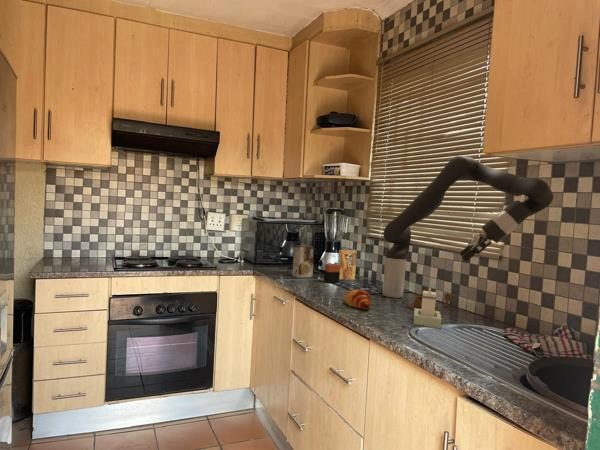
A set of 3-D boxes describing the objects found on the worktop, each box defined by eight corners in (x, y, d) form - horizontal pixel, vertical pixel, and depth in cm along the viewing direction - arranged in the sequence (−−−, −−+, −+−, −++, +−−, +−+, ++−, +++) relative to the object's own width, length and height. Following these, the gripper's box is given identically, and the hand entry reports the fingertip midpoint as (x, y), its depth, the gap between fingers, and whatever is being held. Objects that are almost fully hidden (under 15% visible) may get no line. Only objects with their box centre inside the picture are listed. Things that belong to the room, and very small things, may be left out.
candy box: (351, 278, 241) (354, 250, 240) (354, 279, 237) (357, 251, 236) (336, 278, 238) (338, 249, 237) (339, 279, 234) (341, 250, 233)
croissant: (341, 307, 188) (334, 290, 186) (361, 296, 190) (354, 279, 188) (360, 319, 167) (352, 301, 166) (383, 307, 169) (375, 289, 168)
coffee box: (306, 275, 240) (308, 245, 239) (312, 277, 235) (315, 246, 234) (291, 275, 235) (294, 245, 234) (297, 277, 230) (300, 246, 229)
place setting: (402, 304, 189) (403, 290, 188) (448, 307, 190) (449, 293, 189) (415, 315, 171) (416, 300, 171) (465, 318, 172) (467, 303, 172)
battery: (339, 283, 223) (341, 263, 223) (327, 283, 221) (328, 263, 220) (335, 281, 227) (336, 262, 227) (323, 281, 225) (325, 261, 224)
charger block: (420, 317, 163) (423, 286, 162) (433, 319, 161) (436, 287, 161) (420, 320, 158) (423, 288, 158) (433, 322, 157) (436, 290, 156)
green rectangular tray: (413, 316, 167) (414, 308, 166) (438, 319, 164) (439, 311, 164) (413, 324, 155) (414, 315, 155) (440, 327, 153) (441, 319, 153)
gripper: (488, 217, 160) (453, 247, 164) (495, 219, 146) (457, 252, 150) (503, 232, 159) (467, 262, 163) (512, 236, 146) (472, 268, 149)
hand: (462, 257), depth 157 cm, fingers open, 8 cm apart
